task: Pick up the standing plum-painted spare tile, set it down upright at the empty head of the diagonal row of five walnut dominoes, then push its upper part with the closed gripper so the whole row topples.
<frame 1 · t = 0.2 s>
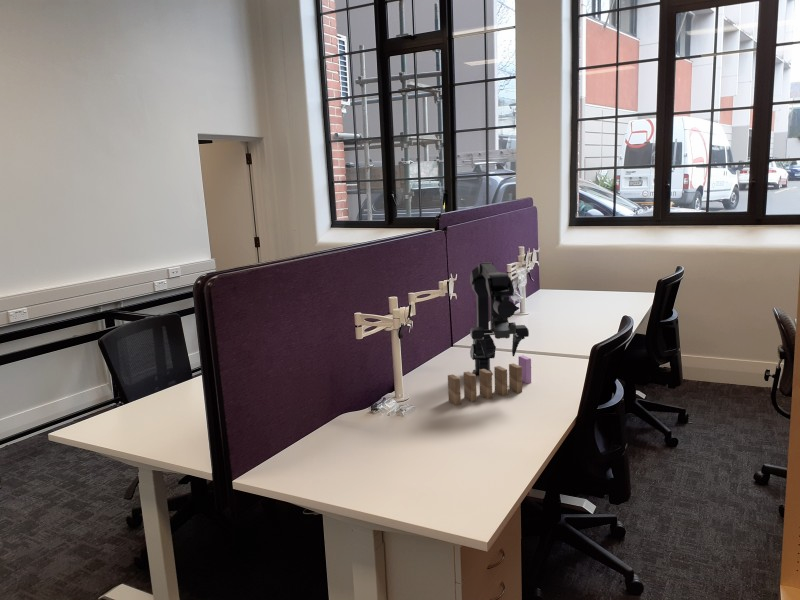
hand: (499, 356, 205), 14 cm above the table, fingers open, 9 cm apart
plum domino: (524, 381, 223), on the table
walnut domino 6: (454, 402, 205), on the table
walnut domino 3: (501, 393, 211), on the table
walnut domino 2: (515, 390, 213), on the table
walnut domino 5: (470, 399, 207), on the table
walnut domino 4: (485, 396, 209), on the table
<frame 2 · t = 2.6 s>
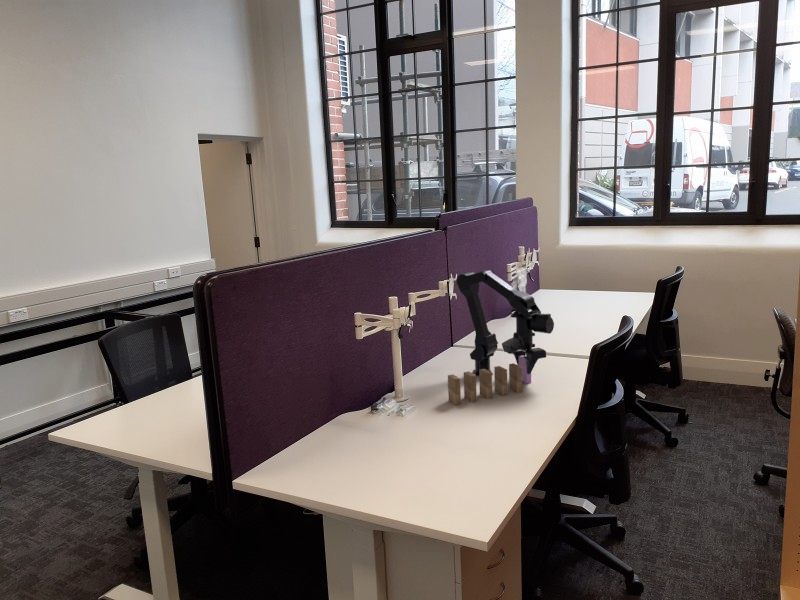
hand: (524, 371, 222), 4 cm above the table, fingers closed on plum domino, 5 cm apart
plum domino: (524, 381, 223), on the table, touching gripper
everything else where it was.
when the fingers open (5 cm above the table, at t = 5.9 s): plum domino drops 1 cm, on the table.
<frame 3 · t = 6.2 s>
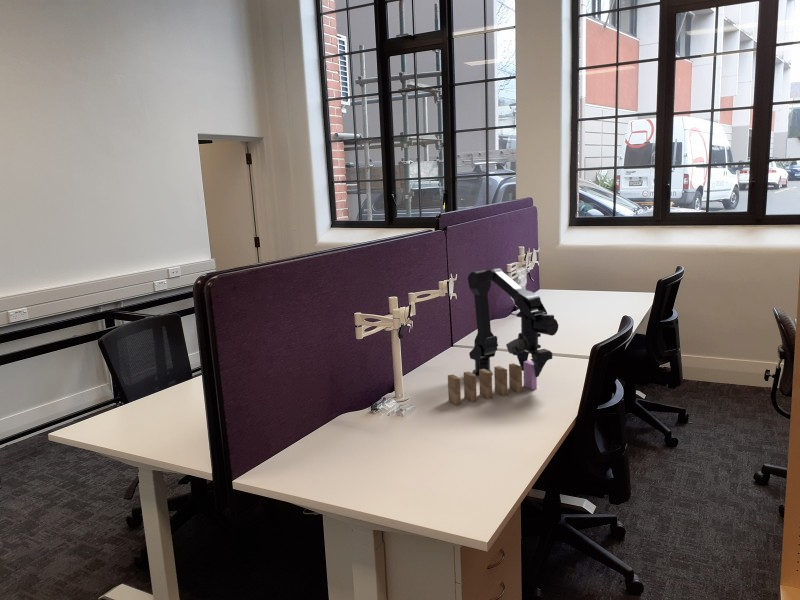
hand: (530, 373, 215), 5 cm above the table, fingers open, 8 cm apart
plum domino: (530, 387, 216), on the table
everything else where it was.
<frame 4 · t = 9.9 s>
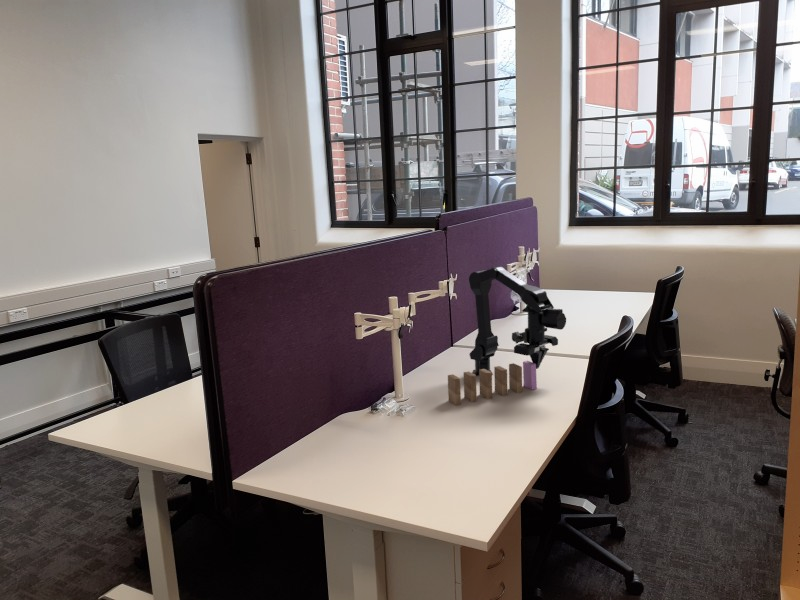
hand: (536, 368, 216), 6 cm above the table, fingers closed
plum domino: (530, 387, 216), on the table, touching gripper
everything else where it was.
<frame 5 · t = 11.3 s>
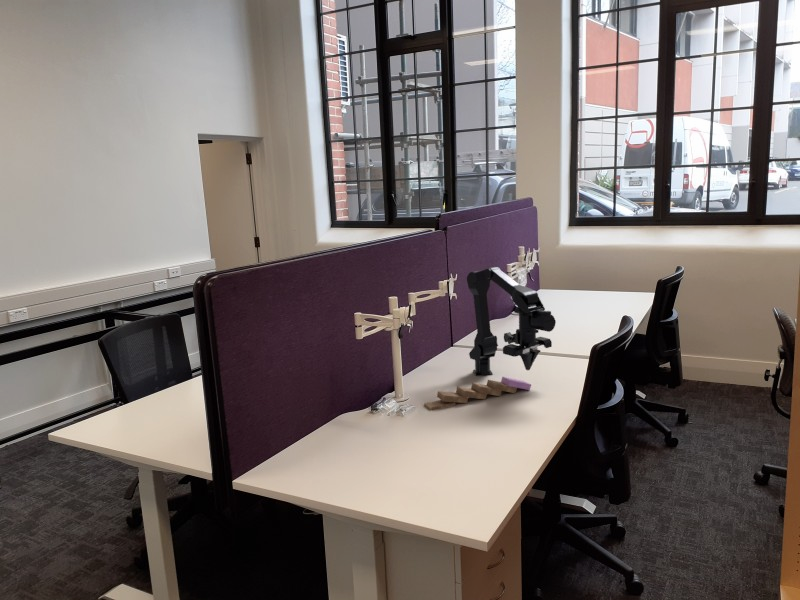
hand: (527, 370, 214), 7 cm above the table, fingers closed
plum domino: (526, 385, 215), point 1 cm above the table, tilted 71°, touching walnut domino 2
walnut domino 6: (451, 403, 204), on the table, tilted 90°
walnut domino 3: (497, 391, 211), point 1 cm above the table, tilted 70°, touching walnut domino 2, walnut domino 4
walnut domino 2: (512, 388, 213), point 1 cm above the table, tilted 71°, touching plum domino, walnut domino 3
walnut domino 5: (464, 397, 206), point 1 cm above the table, tilted 76°, touching walnut domino 4
walnut domino 4: (482, 394, 208), point 1 cm above the table, tilted 73°, touching walnut domino 3, walnut domino 5
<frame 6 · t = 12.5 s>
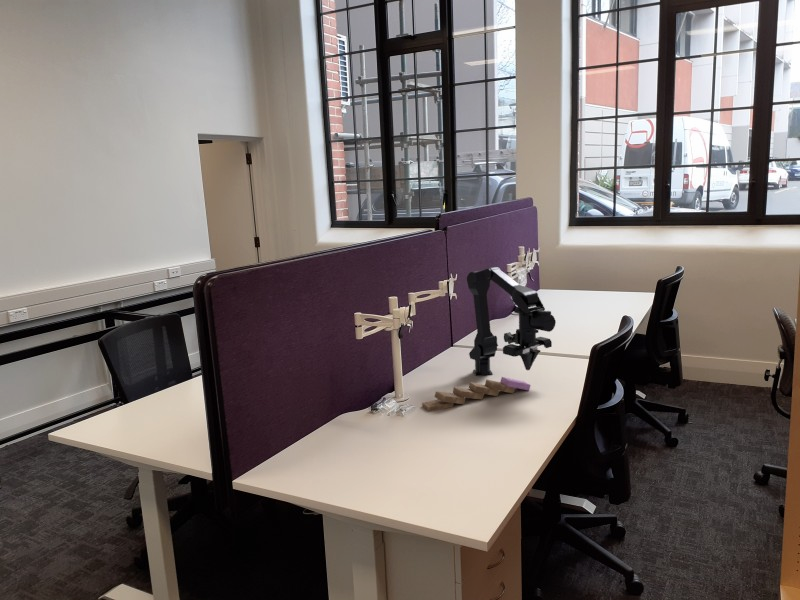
hand: (527, 370, 214), 7 cm above the table, fingers closed
walnut domino 6: (449, 402, 204), on the table, tilted 90°, touching walnut domino 5
walnut domino 5: (460, 398, 205), point 1 cm above the table, tilted 71°, touching walnut domino 4, walnut domino 6
walnut domino 4: (479, 394, 208), point 1 cm above the table, tilted 74°, touching walnut domino 3, walnut domino 5
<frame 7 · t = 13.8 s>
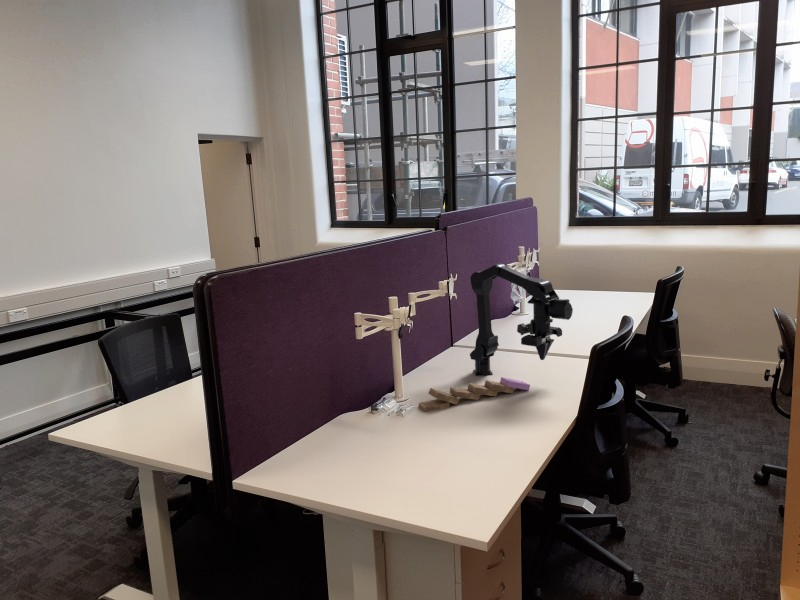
hand: (542, 359, 216), 9 cm above the table, fingers closed
walnut domino 6: (446, 403, 203), on the table, tilted 90°, touching walnut domino 5
walnut domino 5: (454, 399, 204), point 1 cm above the table, tilted 64°, touching walnut domino 6
walnut domino 4: (476, 394, 208), point 1 cm above the table, tilted 75°, touching walnut domino 3
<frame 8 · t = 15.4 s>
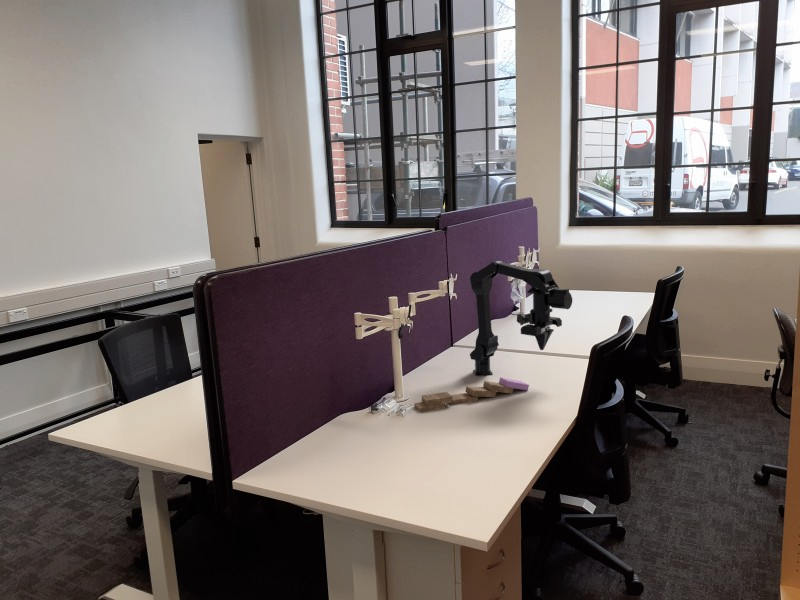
hand: (541, 349, 215), 13 cm above the table, fingers closed
walnut domino 6: (442, 403, 203), on the table, tilted 90°, touching walnut domino 5
walnut domino 3: (491, 392, 210), point 1 cm above the table, tilted 77°, touching walnut domino 2
walnut domino 5: (449, 397, 203), point 2 cm above the table, tilted 90°, touching walnut domino 6
walnut domino 4: (474, 396, 208), on the table, tilted 90°
at the end: walnut domino 6 tilted 90°; plum domino tilted 72°; the gripper is holding nothing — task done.
